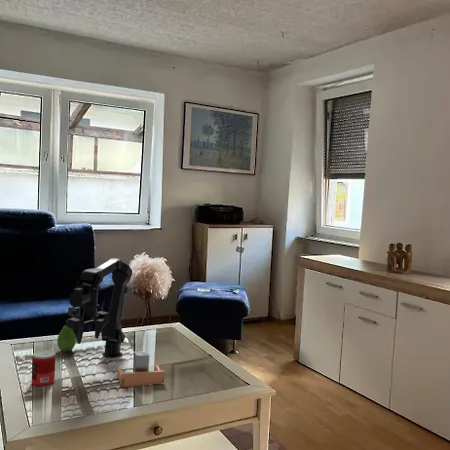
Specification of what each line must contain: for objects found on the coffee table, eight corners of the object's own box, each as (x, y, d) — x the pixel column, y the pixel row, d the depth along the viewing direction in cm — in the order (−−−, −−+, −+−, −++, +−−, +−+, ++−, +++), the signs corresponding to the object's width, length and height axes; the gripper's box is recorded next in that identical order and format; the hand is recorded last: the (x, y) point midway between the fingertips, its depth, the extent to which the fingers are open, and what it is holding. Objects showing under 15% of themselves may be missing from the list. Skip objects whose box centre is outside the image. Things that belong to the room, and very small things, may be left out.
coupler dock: (117, 374, 184) (118, 362, 184) (157, 372, 189) (158, 360, 189) (121, 387, 173) (121, 374, 172) (163, 384, 178) (164, 371, 178)
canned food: (58, 380, 175) (60, 352, 174) (43, 388, 167) (45, 358, 166) (41, 377, 177) (43, 348, 176) (26, 384, 170) (27, 354, 169)
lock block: (132, 376, 182) (134, 351, 181) (145, 375, 184) (147, 350, 183) (134, 381, 177) (136, 355, 177) (147, 380, 179) (149, 355, 178)
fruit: (78, 351, 206) (80, 325, 206) (62, 355, 201) (63, 328, 200) (69, 347, 212) (71, 321, 211) (53, 350, 206) (54, 323, 205)
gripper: (92, 295, 196) (90, 331, 197) (56, 302, 180) (54, 342, 181) (112, 299, 191) (110, 337, 192) (77, 307, 175) (75, 348, 176)
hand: (87, 340), depth 185 cm, fingers open, 9 cm apart
